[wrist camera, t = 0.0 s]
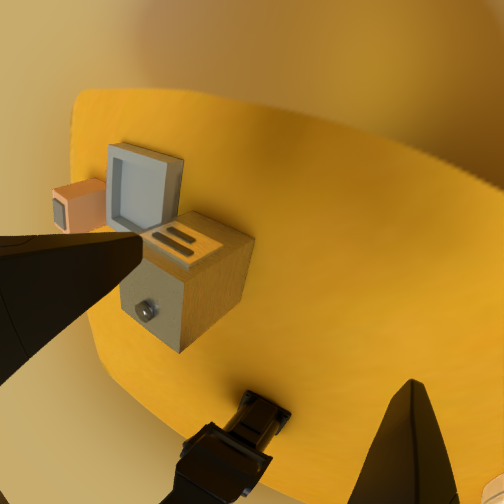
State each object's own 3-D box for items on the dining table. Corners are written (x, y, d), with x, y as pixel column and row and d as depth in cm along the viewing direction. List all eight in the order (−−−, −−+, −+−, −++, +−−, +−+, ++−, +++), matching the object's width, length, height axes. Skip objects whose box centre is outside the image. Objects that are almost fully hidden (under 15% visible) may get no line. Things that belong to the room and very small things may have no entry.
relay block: (114, 222, 35) (67, 239, 29) (95, 210, 37) (52, 225, 31) (114, 187, 33) (64, 201, 27) (95, 177, 34) (49, 190, 28)
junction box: (239, 304, 28) (174, 361, 20) (185, 273, 31) (117, 315, 23) (256, 234, 24) (178, 281, 17) (193, 206, 27) (110, 237, 19)
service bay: (173, 251, 30) (159, 258, 29) (119, 219, 34) (106, 224, 32) (183, 160, 26) (167, 163, 24) (123, 142, 29) (108, 144, 27)
